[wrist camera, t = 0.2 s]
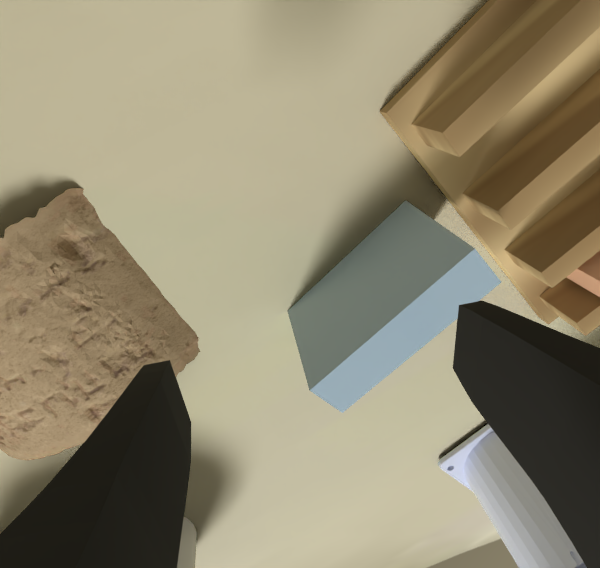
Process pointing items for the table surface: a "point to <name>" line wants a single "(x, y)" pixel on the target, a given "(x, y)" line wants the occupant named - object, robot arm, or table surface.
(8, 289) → the clay tablet
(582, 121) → the rack
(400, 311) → the pale blue block
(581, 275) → the wooden block
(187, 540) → the lumpy-topped squat cylinder
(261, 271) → the table surface
